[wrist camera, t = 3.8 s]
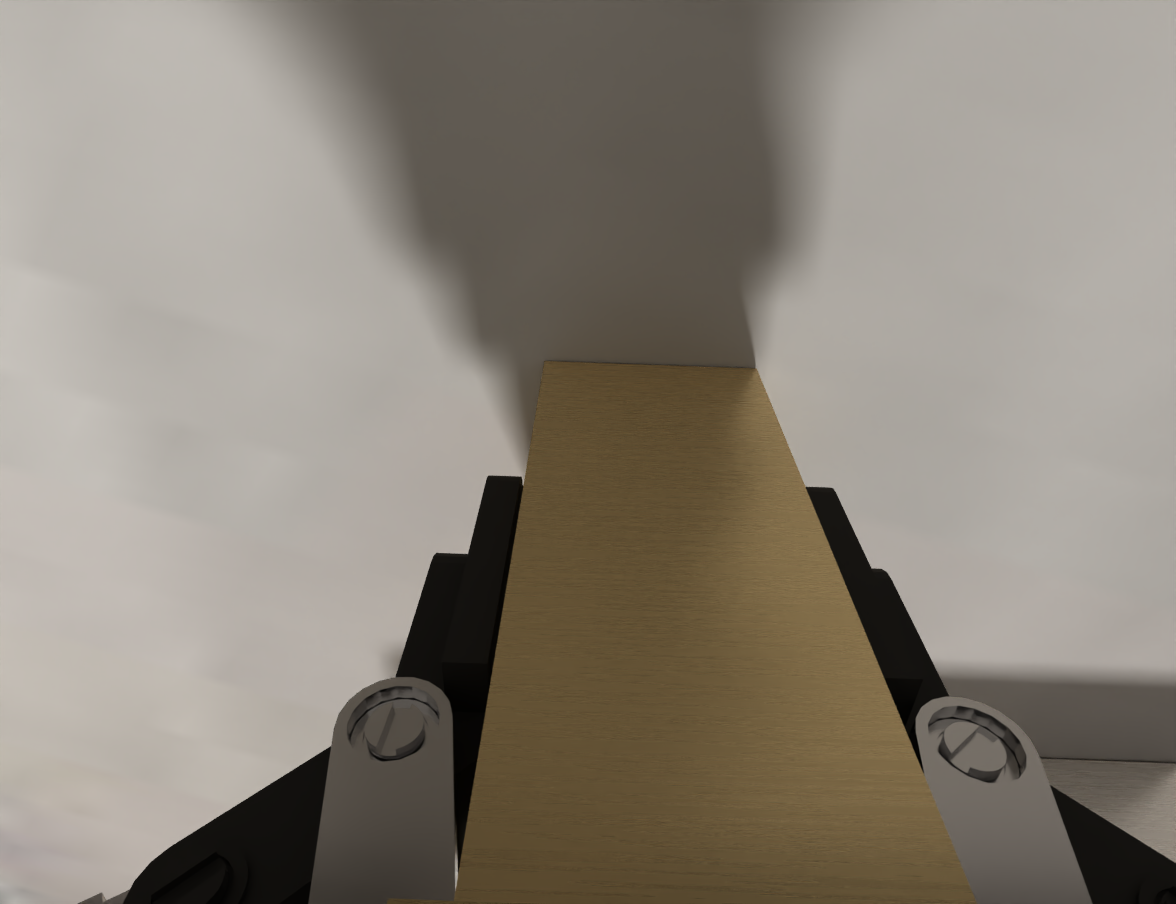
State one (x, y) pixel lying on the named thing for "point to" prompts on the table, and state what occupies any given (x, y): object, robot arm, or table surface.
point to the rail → (1124, 796)
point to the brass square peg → (686, 672)
